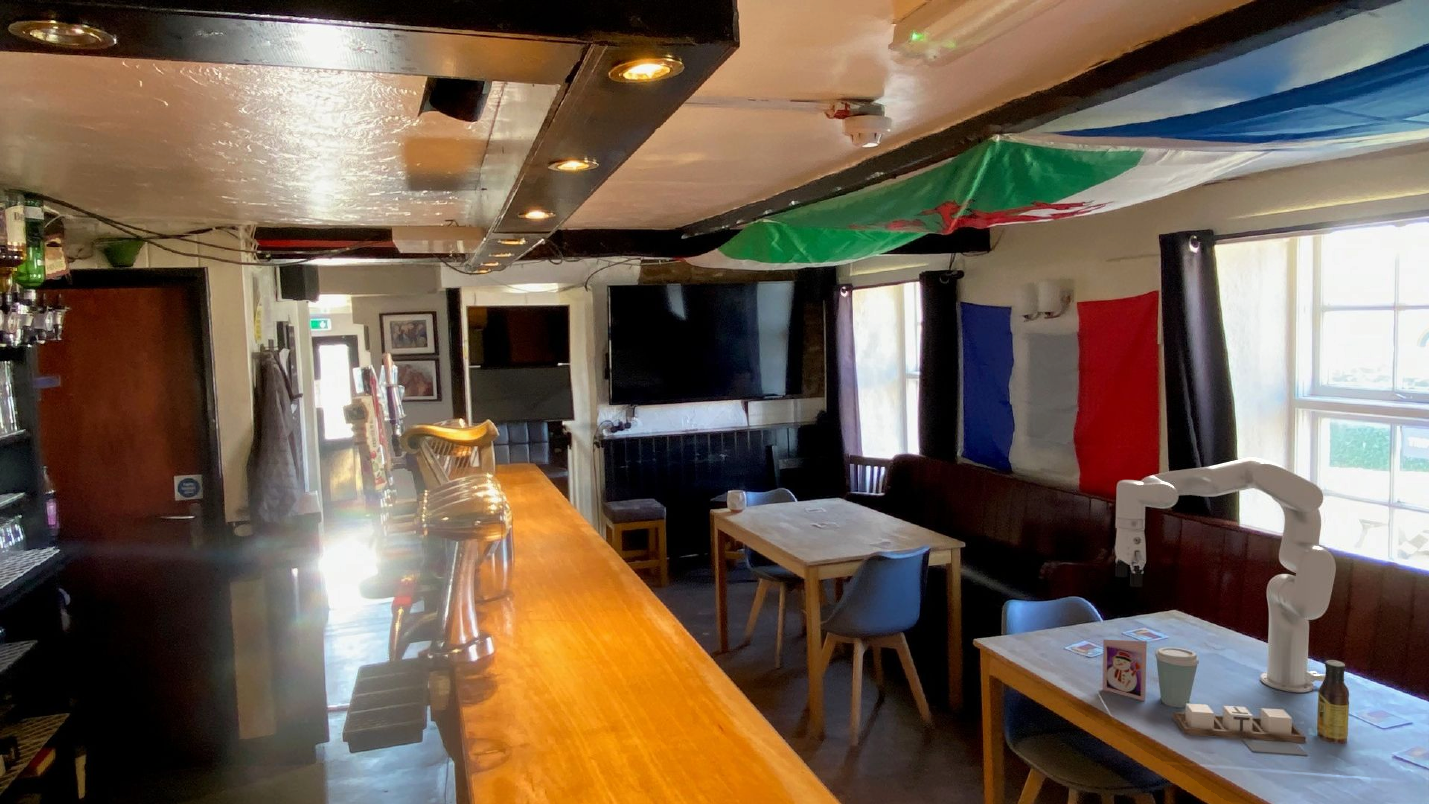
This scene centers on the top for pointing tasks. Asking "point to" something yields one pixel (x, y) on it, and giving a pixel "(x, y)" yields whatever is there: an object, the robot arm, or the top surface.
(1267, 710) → the blank cube
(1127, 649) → the greeting card
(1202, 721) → the blank cube
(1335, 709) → the sauce bottle
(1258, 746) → the slate mat
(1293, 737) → the organizer
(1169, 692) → the disposable coffee cup
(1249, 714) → the lettered cube
